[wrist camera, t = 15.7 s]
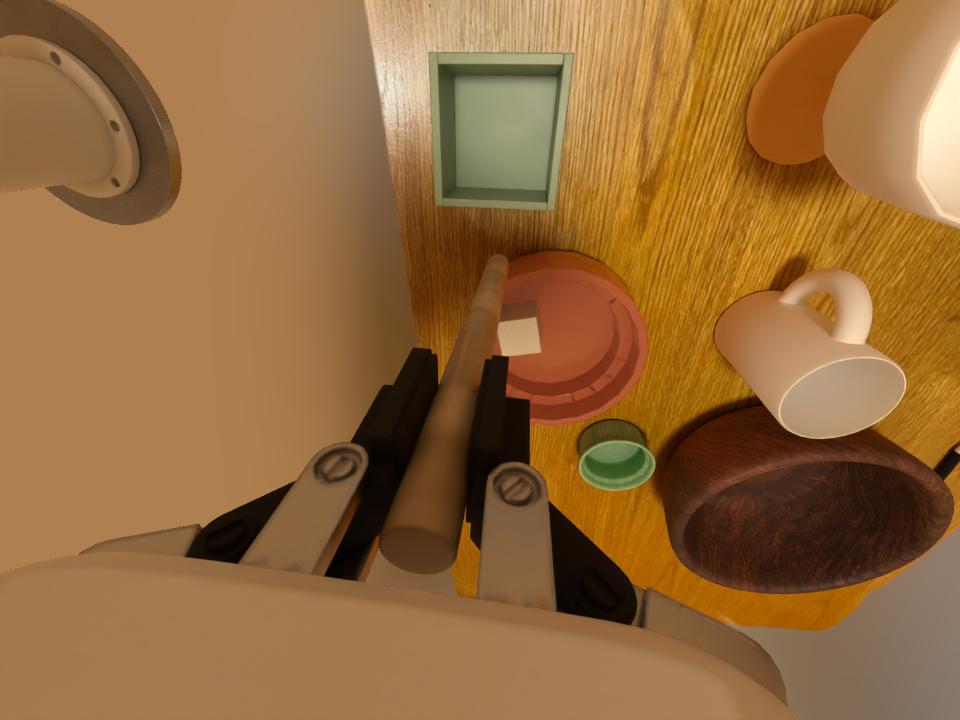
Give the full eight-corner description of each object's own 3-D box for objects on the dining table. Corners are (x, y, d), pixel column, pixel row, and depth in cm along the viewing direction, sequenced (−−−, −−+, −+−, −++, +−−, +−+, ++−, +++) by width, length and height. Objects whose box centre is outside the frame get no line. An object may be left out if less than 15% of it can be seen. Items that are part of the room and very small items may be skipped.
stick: (489, 277, 27) (390, 576, 8) (485, 255, 26) (366, 527, 7) (510, 274, 26) (463, 577, 7) (507, 252, 26) (446, 525, 7)
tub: (451, 192, 34) (435, 205, 28) (448, 65, 29) (428, 52, 23) (551, 196, 33) (554, 211, 27) (566, 67, 28) (574, 52, 22)
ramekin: (565, 425, 47) (568, 450, 44) (637, 407, 44) (646, 433, 41) (586, 470, 51) (590, 496, 48) (653, 456, 48) (663, 483, 45)
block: (498, 305, 38) (494, 322, 35) (536, 300, 38) (536, 317, 34) (505, 338, 40) (502, 357, 37) (541, 333, 40) (541, 352, 36)
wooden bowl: (767, 537, 54) (811, 614, 46) (613, 489, 53) (629, 560, 44) (930, 424, 41) (1036, 504, 32) (728, 354, 39) (783, 419, 31)
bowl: (469, 384, 46) (461, 417, 41) (470, 243, 36) (459, 262, 31) (612, 397, 44) (622, 432, 39) (653, 253, 34) (673, 275, 29)
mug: (848, 252, 32) (989, 309, 22) (781, 363, 39) (866, 445, 29) (751, 244, 33) (846, 296, 23) (701, 355, 40) (758, 433, 30)
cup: (699, 173, 30) (843, 216, 16) (777, -24, 24) (1130, -237, 10) (842, 192, 30) (1121, 253, 16) (962, -4, 23) (1618, -199, 9)
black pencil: (881, 536, 51) (888, 544, 50) (960, 437, 41) (970, 445, 40) (889, 536, 51) (895, 544, 50) (969, 437, 41) (980, 445, 40)
